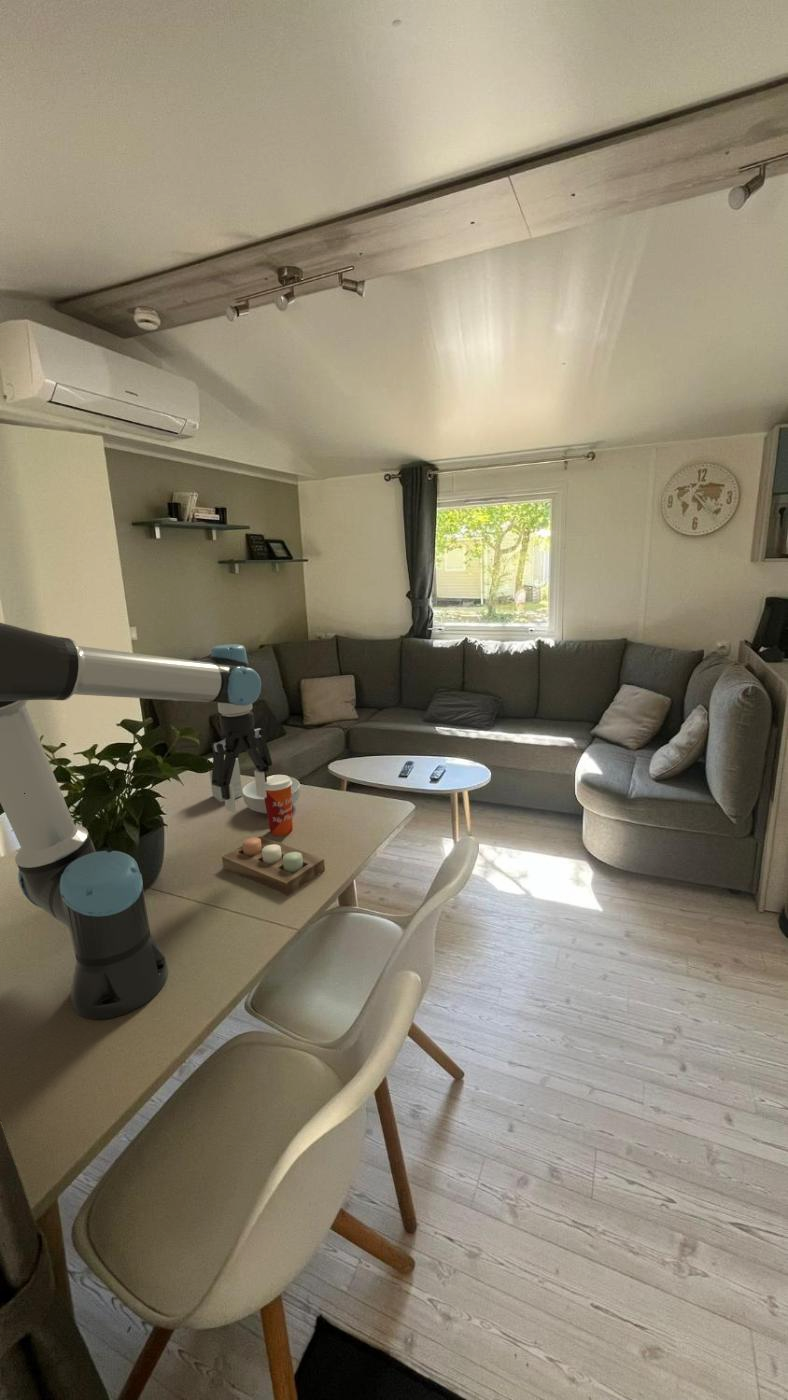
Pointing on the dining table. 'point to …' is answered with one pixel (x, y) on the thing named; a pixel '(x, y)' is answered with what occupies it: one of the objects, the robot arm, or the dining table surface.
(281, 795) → the coffee cup
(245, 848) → the brown egg
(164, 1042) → the dining table surface
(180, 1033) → the dining table surface
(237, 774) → the supplement box
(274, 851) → the cream rounded piece
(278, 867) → the walnut panel
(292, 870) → the pale green rounded block
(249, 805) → the cereal bowl
